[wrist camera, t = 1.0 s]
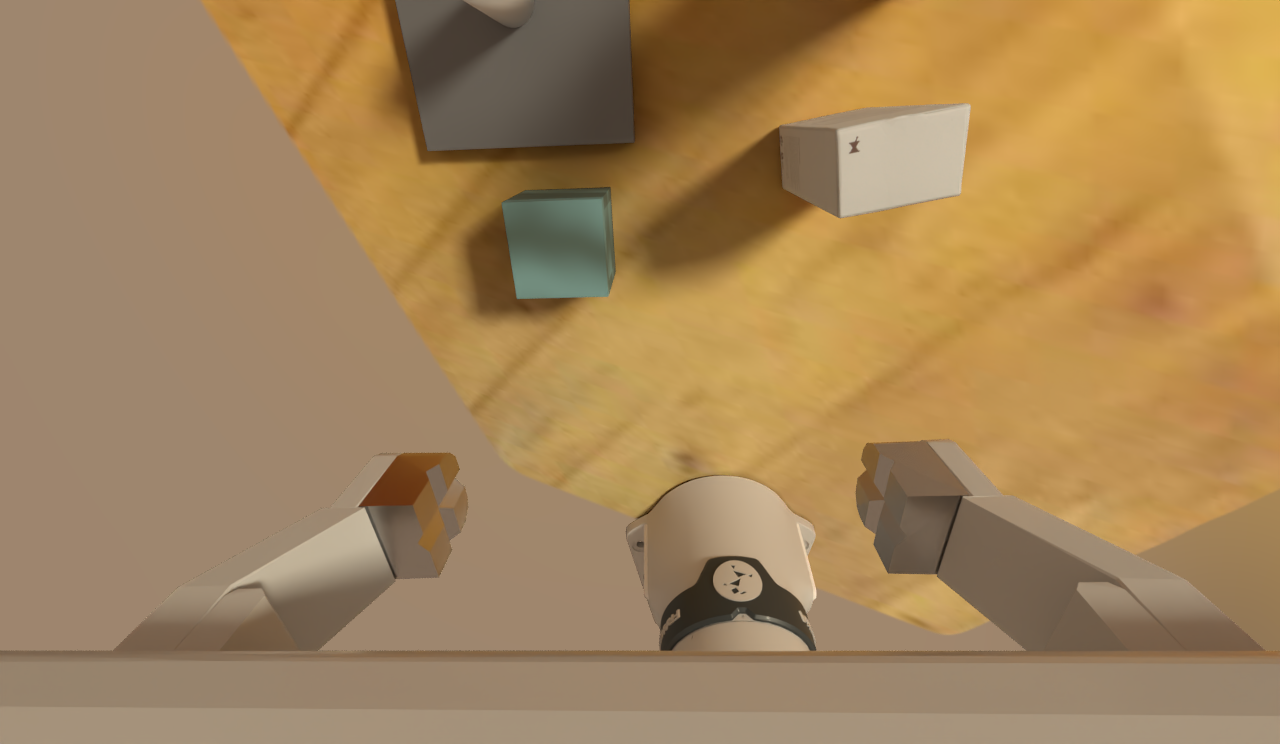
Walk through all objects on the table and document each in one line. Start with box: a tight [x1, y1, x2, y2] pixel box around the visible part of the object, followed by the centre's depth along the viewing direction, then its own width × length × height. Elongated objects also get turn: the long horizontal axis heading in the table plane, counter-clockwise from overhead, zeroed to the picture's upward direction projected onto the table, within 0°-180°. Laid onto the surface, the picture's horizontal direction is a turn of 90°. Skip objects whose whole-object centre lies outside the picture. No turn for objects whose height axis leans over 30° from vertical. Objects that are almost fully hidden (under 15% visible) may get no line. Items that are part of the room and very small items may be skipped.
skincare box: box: [779, 103, 971, 218], centre depth 28 cm, size 6×4×12 cm
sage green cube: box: [502, 187, 616, 299], centre depth 34 cm, size 6×6×6 cm
